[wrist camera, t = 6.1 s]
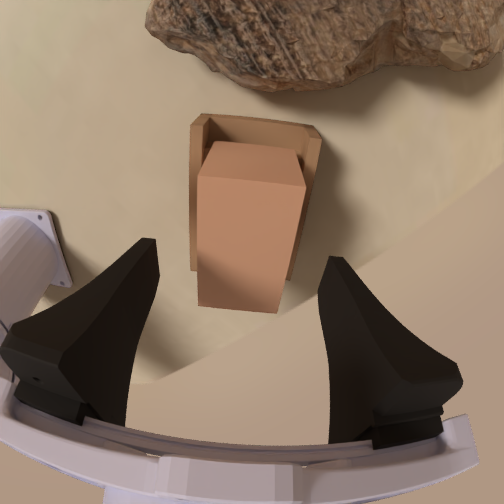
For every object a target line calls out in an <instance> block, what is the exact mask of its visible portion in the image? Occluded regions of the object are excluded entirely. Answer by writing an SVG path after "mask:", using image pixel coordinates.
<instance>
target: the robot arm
mask: <svg viewBox="0 0 504 504" xmlns="http://www.w3.org/2000/svg"><path fill="white" fill-rule="evenodd" d="M41 216H42V217H41ZM159 278H160V272H159V264H158V256H157V247H156V239H151V238H141V239H140V240H139V241H138V242H136V243H135V244H134V245H133V246H132V247H131V248H130V249H129V250H128V251H126V252H125V253H124V254H123V255H122V256H121V257H120V258H119V259H117V260H116V261H115V262H114V263H113V264H112V265H111V266H109V267H108V268H107V269H106V270H105V271H103V272H102V273H101V274H100V275H98V276H97V277H96V278H95V279H94V280H92V281H91V282H90V283H88V284H87V285H85V286H84V287H83V288H81V289H80V290H78V291H77V292H75V293H74V294H72V295H70V296H69V297H67V298H65V299H64V300H62V301H60V302H59V303H57V304H55V305H54V306H52V307H50V308H48V309H46V310H44V311H42V312H40V313H38V314H35V315H33V316H31V314H32V312H33V311H34V309H35V307H36V306H37V304H38V302H39V301H40V299H41V297H42V296H43V294H44V292H45V291H46V289H47V288H48V286H49V284H51V285H56V286H61V287H66V288H70V287H71V286H72V284H73V283H72V280H71V277H70V274H69V272H68V269H67V266H66V263H65V260H64V257H63V254H62V251H61V248H60V244H59V241H58V238H57V235H56V231H55V228H54V224H53V220H52V217H51V214H50V213H49V212H48V211H47V210H34V209H14V208H0V441H1V442H3V443H4V444H6V445H7V446H9V447H11V448H12V449H14V450H16V451H18V452H20V453H22V454H24V455H25V456H27V457H29V458H31V459H33V460H35V461H37V462H39V463H41V464H44V465H46V466H48V467H50V468H52V469H55V470H57V471H59V472H61V473H63V474H66V475H68V476H71V477H73V478H76V479H79V480H81V481H84V482H87V483H89V484H92V485H95V486H98V487H101V488H104V489H105V492H104V498H103V504H362V503H367V502H372V501H377V500H380V499H385V498H389V497H393V496H396V495H400V494H404V493H407V492H410V491H414V490H417V489H420V488H423V487H426V486H429V485H432V484H435V483H438V482H441V481H443V480H446V479H448V478H451V477H453V476H455V475H457V474H459V473H462V472H464V471H466V470H468V469H470V468H472V467H474V466H476V465H478V464H479V458H478V453H477V449H476V445H475V441H474V437H473V433H472V429H471V426H470V422H469V418H468V415H467V414H463V415H459V416H456V417H452V418H449V419H446V420H444V421H441V417H440V415H442V414H443V412H444V411H443V407H442V405H443V404H444V403H446V402H447V401H448V400H449V399H450V398H452V397H453V396H454V395H455V394H456V393H457V392H458V391H459V390H460V389H461V387H462V385H463V379H462V377H461V374H460V371H459V368H458V366H457V363H455V362H454V361H452V360H450V359H449V358H447V357H445V356H443V355H442V354H440V353H438V352H437V351H436V350H434V349H433V348H431V347H430V346H428V345H427V344H426V343H424V342H423V341H421V340H420V339H419V338H418V337H416V336H415V335H414V334H413V333H411V332H410V331H409V330H408V329H407V328H406V327H404V326H403V325H402V324H401V323H400V322H399V321H398V320H397V319H396V318H395V317H394V316H393V315H392V314H391V313H390V312H389V311H388V310H387V309H386V308H385V307H384V306H383V305H382V304H381V303H380V302H379V300H378V299H377V298H376V297H375V296H374V295H373V294H372V292H371V291H370V290H369V289H368V288H367V286H366V285H365V284H364V283H363V281H362V280H361V279H360V278H359V277H358V275H357V274H356V273H355V271H354V270H353V269H352V268H351V266H350V265H349V264H348V263H347V261H346V260H345V259H344V258H343V257H336V256H329V259H328V262H327V265H326V268H325V271H324V274H323V277H322V280H321V282H320V285H319V288H318V305H319V315H320V320H321V325H322V330H323V335H324V340H325V345H326V351H327V356H328V363H329V380H330V425H329V441H328V444H324V445H304V446H303V445H302V446H261V445H241V444H227V443H216V442H206V441H198V440H190V439H183V438H177V437H171V436H165V435H160V434H154V433H149V432H144V431H139V430H135V429H131V428H126V427H125V420H126V409H127V399H128V392H129V385H130V379H131V374H132V368H133V363H134V358H135V354H136V349H137V345H138V342H139V339H140V336H141V333H142V330H143V328H144V325H145V322H146V319H147V317H148V314H149V311H150V309H151V306H152V303H153V301H154V298H155V294H156V290H157V286H158V282H159ZM30 316H31V317H30ZM146 453H148V454H153V455H158V456H161V457H154V456H147V454H146ZM302 466H307V467H306V468H302Z"/></svg>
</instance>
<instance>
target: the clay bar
mask: <svg viewBox="0 0 504 504" xmlns="http://www.w3.org/2000/svg"><path fill="white" fill-rule="evenodd" d="M305 191H306V185H305V181H304V178H303V175H302V171H301V168H300V165H299V162H298V159H297V155H296V152H295V149H288V148H280V147H273V146H264V145H255V144H246V143H235V142H224V141H214V143H213V145H212V147H211V149H210V151H209V153H208V155H207V157H206V159H205V161H204V163H203V165H202V167H201V170H200V172H199V174H198V177H197V281H198V306H203V307H212V308H222V309H231V310H242V311H252V312H264V313H276V314H277V311H278V307H279V303H280V299H281V295H282V291H283V287H284V283H285V279H286V275H287V271H288V267H289V262H290V258H291V254H292V250H293V245H294V241H295V237H296V232H297V228H298V223H299V219H300V214H301V210H302V205H303V200H304V196H305Z"/></svg>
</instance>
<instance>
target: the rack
mask: <svg viewBox="0 0 504 504" xmlns="http://www.w3.org/2000/svg"><path fill="white" fill-rule="evenodd" d="M214 141H224V142H235V143H246V144H255V145H264V146H273V147H280V148H288V149H295V152H296V155H297V159H298V162H299V165H300V168H301V171H302V175H303V178H304V181H305V185H306V191H305V196H304V200H303V205H302V210H301V214H300V219H299V223H298V228H297V232H296V237H295V241H294V245H293V250H292V254H291V258H290V262H289V267H288V271H287V275H286V279H285V280H289V281H290V279H291V275H292V271H293V267H294V263H295V259H296V255H297V251H298V246H299V242H300V238H301V234H302V230H303V225H304V221H305V217H306V213H307V208H308V204H309V199H310V195H311V190H312V186H313V181H314V177H315V172H316V167H317V162H318V158H319V153H320V148H321V143H322V138H321V137H320V135H319V134H318V132H317V131H316V129H315V128H314V126H312V125H306V124H299V123H293V122H286V121H278V120H271V119H262V118H253V117H243V116H231V115H218V114H201V115H200V116H199V117H198V118H197V119H196V120H195V121H194V122H193V123H192V124H191V125H190V159H189V232H190V268H191V271H197V177H198V174H199V172H200V170H201V167H202V165H203V163H204V161H205V159H206V157H207V155H208V153H209V151H210V149H211V147H212V145H213V143H214Z"/></svg>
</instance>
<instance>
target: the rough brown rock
mask: <svg viewBox="0 0 504 504" xmlns="http://www.w3.org/2000/svg"><path fill="white" fill-rule="evenodd" d="M145 27H146V29H147V30H148V31H149V33H150V34H151V35H152V36H154V37H156V38H157V39H159V40H160V41H161V42H163V43H164V44H165V45H166V46H167V47H168V48H170V49H173V50H176V51H178V52H181V53H190V54H192V55H195V56H197V57H198V58H200V59H201V60H202V61H204V62H205V63H206V64H207V65H208V67H209V68H210V69H211V71H212V72H222V73H223V74H224V75H225V76H227V77H228V78H230V79H231V80H233V81H234V82H236V83H237V84H239V85H241V86H242V87H247V88H252V89H257V90H262V91H267V92H276V91H280V90H287V89H290V88H294V90H295V91H296V92H297V91H309V90H321V89H329V88H334V87H341V86H343V85H346V84H350V83H351V82H352V81H354V80H355V79H357V78H358V77H361V76H363V75H365V74H368V73H371V72H374V71H376V70H378V69H380V68H382V67H383V66H387V65H396V66H410V65H421V66H438V65H441V64H442V65H444V66H445V67H447V68H448V69H450V70H453V71H469V70H474V69H478V68H482V67H484V66H486V65H487V64H488V63H489V62H490V60H491V59H492V58H493V57H494V56H495V55H496V54H497V52H499V53H501V51H502V49H504V0H152V1H151V3H150V6H149V8H148V10H147V13H146V21H145Z"/></svg>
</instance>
